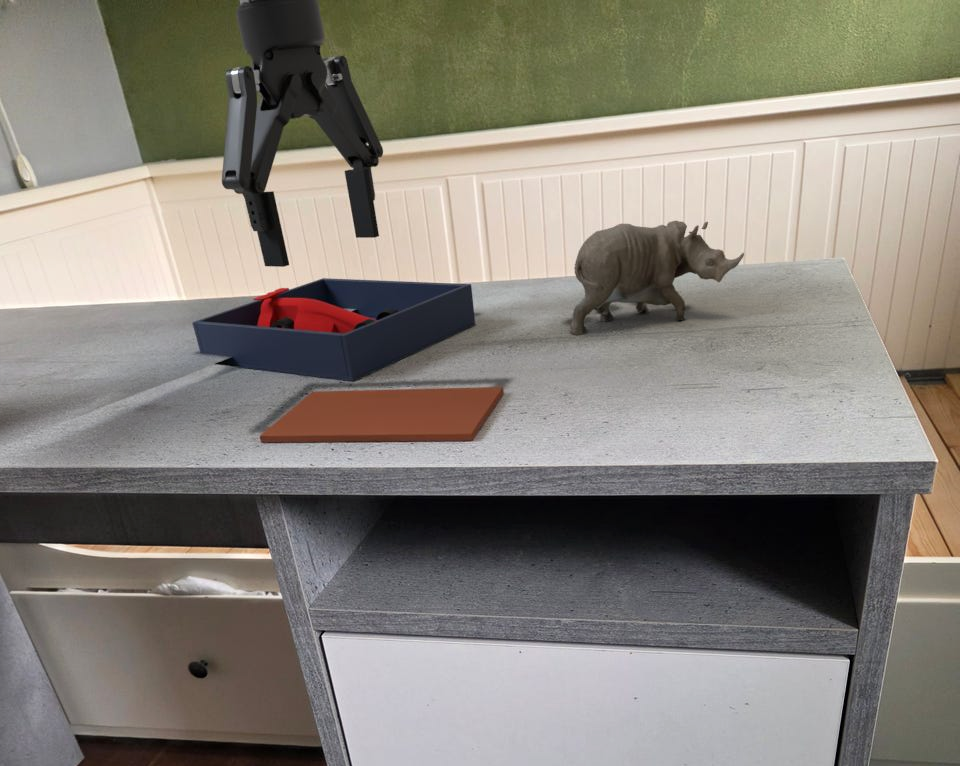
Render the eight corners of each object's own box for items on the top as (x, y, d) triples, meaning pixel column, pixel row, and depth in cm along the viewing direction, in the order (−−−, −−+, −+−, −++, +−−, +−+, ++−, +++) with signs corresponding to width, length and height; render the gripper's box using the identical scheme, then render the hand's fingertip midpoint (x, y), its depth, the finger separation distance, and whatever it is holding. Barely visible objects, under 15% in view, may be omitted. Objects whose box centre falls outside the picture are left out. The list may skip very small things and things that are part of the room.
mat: (260, 442, 72) (258, 435, 71) (313, 397, 80) (312, 391, 80) (472, 440, 67) (471, 433, 67) (503, 393, 76) (503, 386, 75)
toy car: (393, 351, 90) (385, 300, 87) (259, 346, 97) (248, 299, 95) (422, 335, 94) (416, 286, 91) (292, 331, 102) (282, 286, 99)
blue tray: (202, 362, 95) (191, 322, 93) (330, 314, 108) (323, 278, 106) (353, 381, 83) (345, 335, 81) (475, 325, 97) (471, 283, 94)
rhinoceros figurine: (537, 296, 94) (619, 159, 86) (640, 357, 98) (727, 233, 90) (543, 320, 88) (632, 175, 80) (653, 385, 92) (747, 254, 84)
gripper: (193, -4, 69) (260, 280, 81) (394, -12, 85) (426, 226, 97) (136, 9, 73) (208, 278, 85) (338, -1, 89) (375, 226, 101)
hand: (324, 251), depth 91 cm, fingers open, 13 cm apart
